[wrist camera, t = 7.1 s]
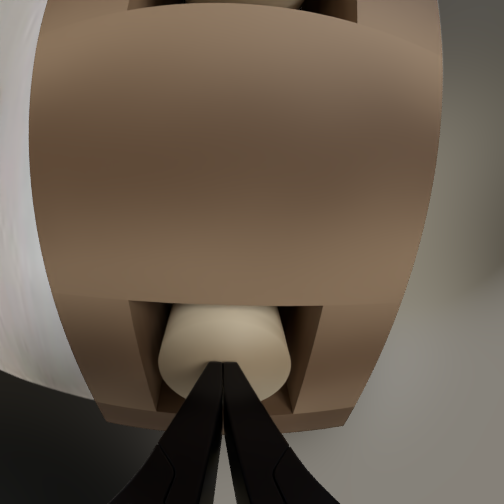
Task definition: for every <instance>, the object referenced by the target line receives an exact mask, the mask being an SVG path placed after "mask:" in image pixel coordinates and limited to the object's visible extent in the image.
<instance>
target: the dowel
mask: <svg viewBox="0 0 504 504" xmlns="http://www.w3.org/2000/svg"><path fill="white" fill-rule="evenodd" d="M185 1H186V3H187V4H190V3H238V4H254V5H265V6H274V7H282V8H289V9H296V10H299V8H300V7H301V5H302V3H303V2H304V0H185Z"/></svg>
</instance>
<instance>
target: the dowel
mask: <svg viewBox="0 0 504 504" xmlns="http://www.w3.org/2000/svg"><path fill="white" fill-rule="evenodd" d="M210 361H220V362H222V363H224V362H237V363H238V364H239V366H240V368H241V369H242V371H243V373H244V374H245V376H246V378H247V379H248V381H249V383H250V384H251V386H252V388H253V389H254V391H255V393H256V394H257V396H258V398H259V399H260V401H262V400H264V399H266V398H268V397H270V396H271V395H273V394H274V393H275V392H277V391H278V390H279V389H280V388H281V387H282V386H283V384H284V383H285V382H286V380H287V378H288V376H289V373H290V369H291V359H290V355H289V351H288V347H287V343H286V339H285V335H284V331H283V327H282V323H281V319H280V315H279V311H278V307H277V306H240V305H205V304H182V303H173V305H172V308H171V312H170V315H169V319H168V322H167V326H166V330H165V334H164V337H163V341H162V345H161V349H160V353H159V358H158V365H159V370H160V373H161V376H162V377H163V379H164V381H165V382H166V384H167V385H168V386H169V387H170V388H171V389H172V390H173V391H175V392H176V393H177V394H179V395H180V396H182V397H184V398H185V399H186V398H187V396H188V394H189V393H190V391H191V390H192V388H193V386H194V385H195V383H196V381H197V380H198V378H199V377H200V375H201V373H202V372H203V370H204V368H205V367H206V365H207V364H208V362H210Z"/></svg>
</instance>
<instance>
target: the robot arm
mask: <svg viewBox="0 0 504 504" xmlns="http://www.w3.org/2000/svg"><path fill="white" fill-rule="evenodd" d="M223 426H224V435H225V441H226V447H227V453H228V459H229V465H230V470H231V476H232V481H233V486H234V491H235V497H236V502H237V504H340V503H339V502H338V501H337V500H336V499H335V498H334V497H333V496H331V494H330V493H329V492H328V491H326V489H325V488H324V487H322V485H321V484H319V482H318V481H317V480H316V479H315V478H314V477H313V476H312V475H311V474H310V472H309V471H308V470H307V469H306V468H305V466H304V465H303V464H302V462H301V461H300V460H299V458H298V457H297V456H296V454H295V453H294V451H293V450H292V448H291V447H289V444H288V443H287V441H286V440H285V438H284V437H283V435H282V434H281V432H280V431H279V429H278V427H277V426H276V424H275V423H274V421H273V420H272V418H271V417H270V415H269V413H268V412H267V410H266V409H265V407H264V406H263V404H262V402H261V401H260V399H259V398H258V396H257V394H256V393H255V391H254V389H253V388H252V386H251V384H250V383H249V381H248V379H247V378H246V376H245V374H244V373H243V371H242V369H241V368H240V366H239V364H238V363H237V362H224V363H222V362H220V361H210V362H208V364H207V365H206V367H205V368H204V370H203V372H202V373H201V375H200V377H199V378H198V380H197V381H196V383H195V385H194V386H193V388H192V390H191V391H190V393H189V394H188V396H187V398H186V399H185V401H184V402H183V404H182V406H181V407H180V409H179V410H178V412H177V413H176V415H175V417H174V418H173V420H172V421H171V423H170V425H169V426H168V428H167V429H166V431H165V432H164V434H163V436H162V437H161V439H160V440H159V442H158V445H156V446H155V448H154V449H153V451H152V452H151V454H150V456H149V457H148V458H147V460H146V461H145V462H144V464H143V465H142V467H141V468H140V469H139V470H138V472H137V473H136V474H135V475H134V477H133V478H132V479H131V480H130V481H129V482H128V483H127V484H126V485H125V487H124V488H123V489H122V490H121V491H120V492H119V493H118V494H117V495H116V496H115V497H114V498H113V499H112V500H111V501H110V502H109V504H213V501H214V494H215V486H216V478H217V470H218V463H219V455H220V448H221V440H222V432H223Z"/></svg>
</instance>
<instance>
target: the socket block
mask: <svg viewBox="0 0 504 504" xmlns="http://www.w3.org/2000/svg"><path fill="white" fill-rule="evenodd" d="M183 1H184V0H48V1H47V5H46V8H45V12H44V16H43V20H42V24H41V28H40V32H39V37H38V42H37V48H36V53H35V59H34V66H33V74H32V83H31V94H30V109H29V160H30V176H31V188H32V197H33V205H34V212H35V219H36V225H37V231H38V237H39V242H40V247H41V252H42V256H43V261H44V265H45V269H46V273H47V277H48V281H49V284H50V288H51V292H52V295H53V298H54V302H55V305H56V308H57V311H58V314H59V317H60V320H61V323H62V326H63V329H64V331H65V334H66V337H67V339H68V342H69V345H70V347H71V350H72V352H73V354H74V357H75V359H76V362H77V364H78V366H79V368H80V371H81V373H82V375H83V377H84V379H85V382H86V384H87V386H88V388H89V390H90V392H91V394H92V396H93V398H94V400H95V402H96V404H97V405H98V407H99V409H100V411H101V413H102V414H103V416H104V418H105V420H106V421H107V422H110V423H116V424H121V425H127V426H132V427H139V428H146V429H153V430H161V431H166V429H167V428H168V426H169V425H170V423H171V421H172V420H173V418H174V417H175V415H176V413H177V412H178V410H179V409H180V407H181V406H182V404H183V402H184V401H185V398H184V397H182V396H180V395H179V394H177V393H176V392H175V391H173V390H172V389H171V388H170V387H169V386H168V385H167V384H166V382H165V381H164V379H163V377H162V376H161V373H160V370H159V365H158V358H159V353H160V349H161V345H162V341H163V337H164V334H165V330H166V326H167V322H168V319H169V315H170V312H171V308H172V305H173V303H182V304H205V305H240V306H277V307H278V311H279V315H280V319H281V323H282V327H283V331H284V335H285V339H286V343H287V347H288V351H289V355H290V359H291V369H290V373H289V376H288V378H287V380H286V382H285V383H284V384H283V386H282V387H281V388H280V389H279V390H278V391H277V392H275V393H274V394H273V395H271V396H270V397H268V398H266V399H264V400H262V401H261V402H262V404H263V406H264V407H265V409H266V410H267V412H268V413H269V415H270V417H271V418H272V420H273V421H274V423H275V424H276V426H277V427H278V429H279V431H280V432H281V433H290V432H301V431H309V430H318V429H326V428H332V427H339V426H343V425H344V424H345V422H346V421H347V419H348V417H349V415H350V414H351V412H352V410H353V408H354V406H355V404H356V403H357V401H358V399H359V397H360V395H361V393H362V391H363V389H364V387H365V385H366V383H367V381H368V379H369V377H370V375H371V373H372V371H373V369H374V367H375V365H376V363H377V360H378V358H379V356H380V354H381V352H382V349H383V347H384V345H385V342H386V340H387V338H388V335H389V333H390V330H391V328H392V325H393V323H394V320H395V318H396V315H397V312H398V310H399V307H400V304H401V301H402V299H403V296H404V293H405V290H406V287H407V284H408V281H409V278H410V274H411V271H412V268H413V265H414V262H415V258H416V255H417V251H418V247H419V244H420V240H421V236H422V232H423V228H424V224H425V219H426V215H427V210H428V206H429V201H430V196H431V190H432V185H433V180H434V173H435V167H436V159H437V153H438V144H439V135H440V124H441V109H442V84H443V67H442V42H441V28H440V18H439V10H438V3H437V0H304V2H303V3H302V9H301V10H296V9H289V8H282V7H274V6H265V5H254V4H238V3H190V4H183ZM222 435H224V426H223V432H222Z"/></svg>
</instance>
